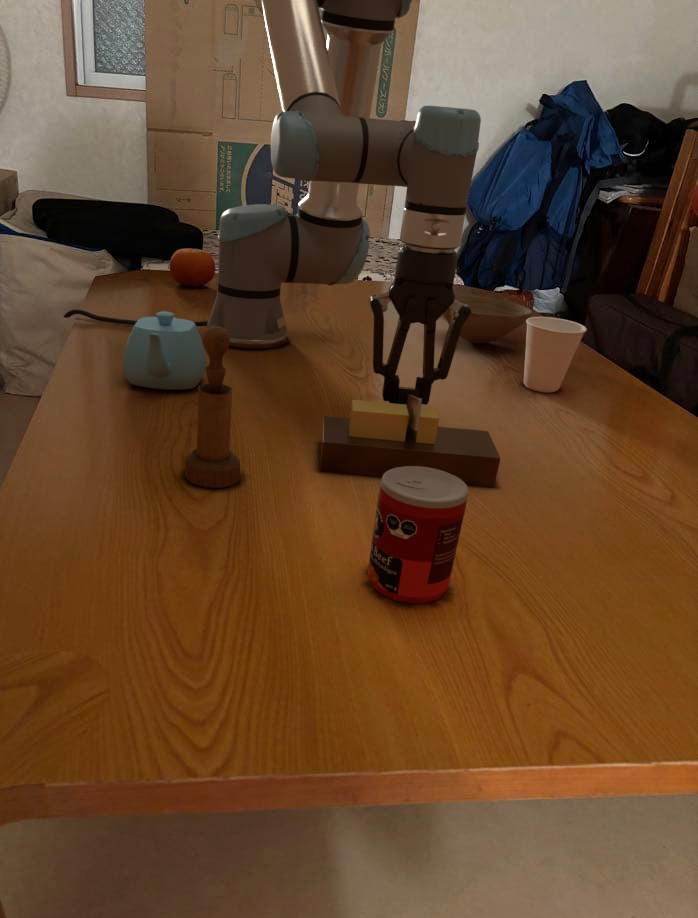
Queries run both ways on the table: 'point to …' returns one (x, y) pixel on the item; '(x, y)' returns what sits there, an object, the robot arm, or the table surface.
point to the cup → (549, 351)
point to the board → (410, 453)
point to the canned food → (416, 533)
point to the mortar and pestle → (213, 421)
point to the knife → (410, 404)
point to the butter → (378, 420)
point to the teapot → (164, 353)
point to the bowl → (489, 318)
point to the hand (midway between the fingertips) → (401, 423)
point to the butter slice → (427, 425)
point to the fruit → (192, 267)
